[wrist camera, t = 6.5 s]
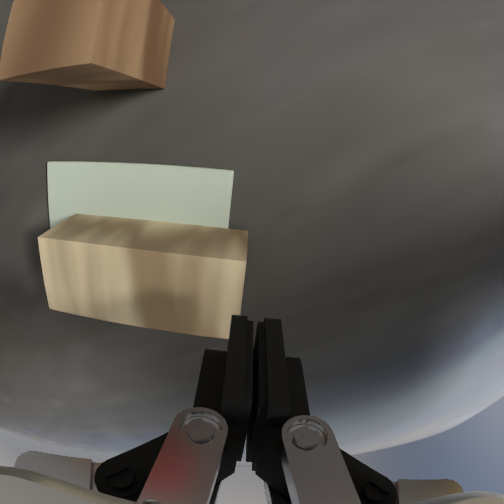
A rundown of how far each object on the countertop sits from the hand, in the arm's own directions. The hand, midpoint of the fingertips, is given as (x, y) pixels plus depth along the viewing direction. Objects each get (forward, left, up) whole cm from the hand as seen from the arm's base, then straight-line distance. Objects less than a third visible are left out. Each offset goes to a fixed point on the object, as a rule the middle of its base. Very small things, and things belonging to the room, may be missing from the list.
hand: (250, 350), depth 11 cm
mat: (+7, 0, -8) cm, 10 cm away
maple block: (0, 0, -5) cm, 5 cm away
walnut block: (+8, -11, -8) cm, 15 cm away
